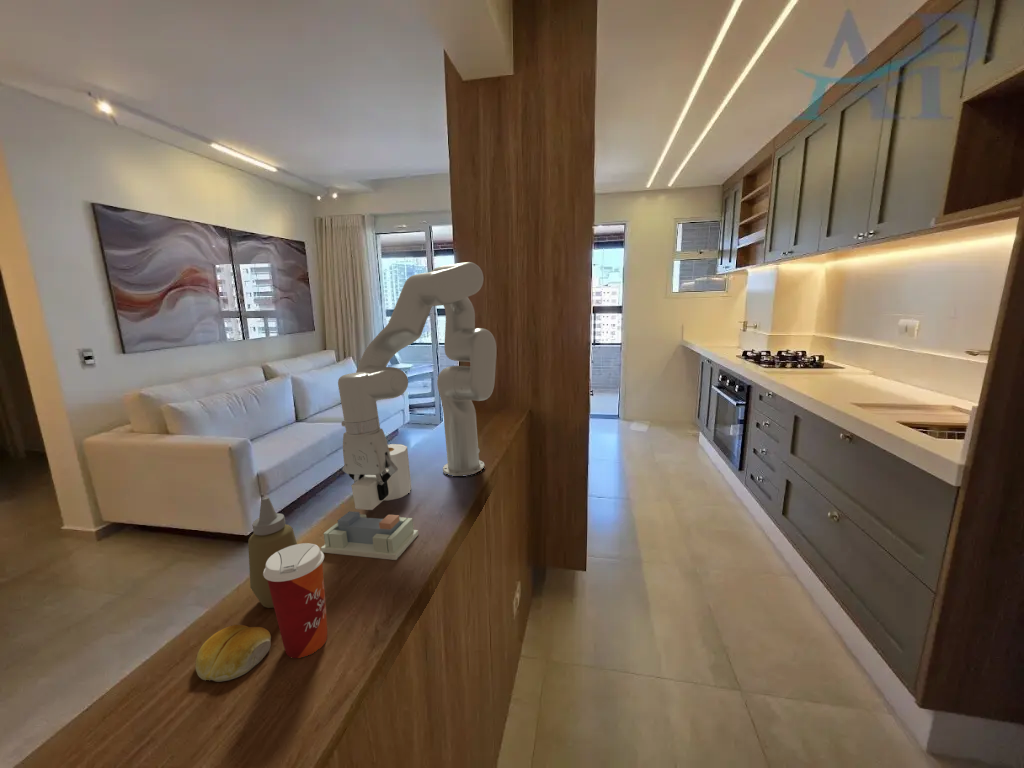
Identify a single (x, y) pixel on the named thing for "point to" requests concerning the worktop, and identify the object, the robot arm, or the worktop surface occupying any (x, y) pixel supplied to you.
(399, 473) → the toilet paper
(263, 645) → the bread roll
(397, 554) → the jig
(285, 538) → the squeeze bottle
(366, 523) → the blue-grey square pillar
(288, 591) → the paper cup
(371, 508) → the block
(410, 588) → the worktop surface
